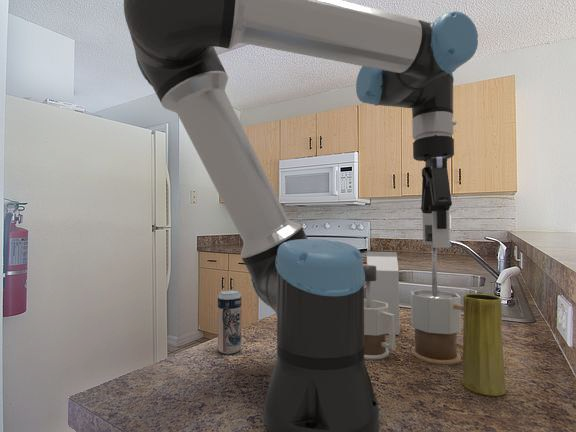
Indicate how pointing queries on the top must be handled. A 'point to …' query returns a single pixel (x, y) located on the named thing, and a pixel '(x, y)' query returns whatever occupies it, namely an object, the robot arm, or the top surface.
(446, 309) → the press copper
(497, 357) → the vase
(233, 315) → the beer can
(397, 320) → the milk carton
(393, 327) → the press cream
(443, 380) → the top surface
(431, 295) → the plunger
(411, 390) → the top surface
